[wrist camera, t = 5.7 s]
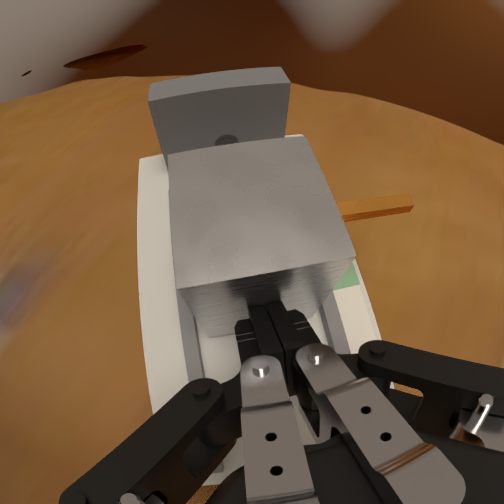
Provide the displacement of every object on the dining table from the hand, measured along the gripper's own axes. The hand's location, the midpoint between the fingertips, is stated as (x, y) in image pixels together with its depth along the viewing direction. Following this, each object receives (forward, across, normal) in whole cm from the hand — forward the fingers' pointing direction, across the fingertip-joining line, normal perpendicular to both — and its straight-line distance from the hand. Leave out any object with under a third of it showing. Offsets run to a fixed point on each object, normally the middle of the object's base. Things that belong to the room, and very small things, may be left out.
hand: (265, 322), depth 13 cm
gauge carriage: (+7, -3, -2) cm, 8 cm away
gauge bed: (+6, 0, +1) cm, 7 cm away
